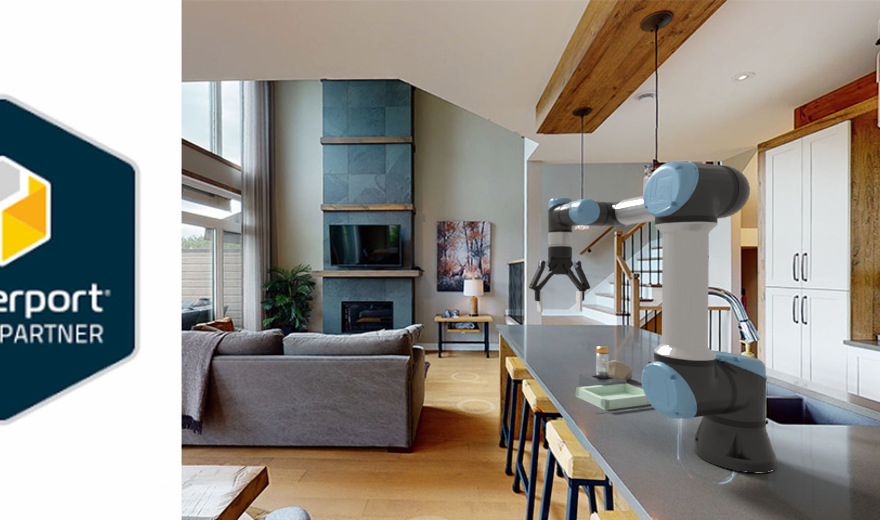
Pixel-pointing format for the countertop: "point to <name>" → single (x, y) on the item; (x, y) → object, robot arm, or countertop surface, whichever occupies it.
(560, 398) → the countertop surface
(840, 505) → the countertop surface
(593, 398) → the tray
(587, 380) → the hitch block
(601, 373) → the clear bottle
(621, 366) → the stone
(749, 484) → the countertop surface
